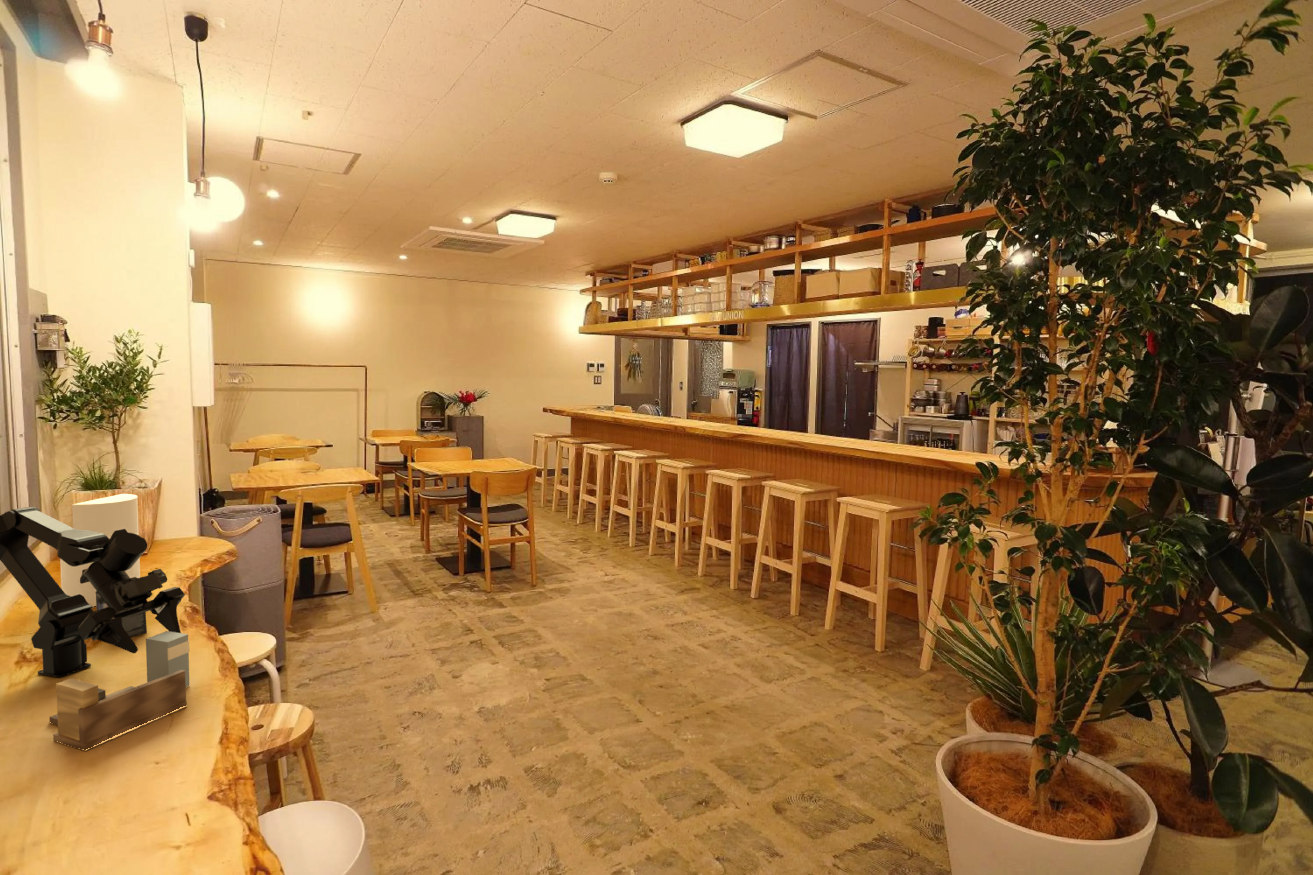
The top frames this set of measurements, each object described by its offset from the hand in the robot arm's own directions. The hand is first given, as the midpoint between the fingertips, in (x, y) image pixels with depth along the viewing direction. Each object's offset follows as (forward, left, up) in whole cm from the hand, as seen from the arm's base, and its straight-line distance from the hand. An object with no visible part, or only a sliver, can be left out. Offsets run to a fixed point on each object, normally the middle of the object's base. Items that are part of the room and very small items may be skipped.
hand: (158, 643), depth 141 cm
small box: (+20, +36, -9) cm, 42 cm away
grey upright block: (0, -2, -9) cm, 10 cm away
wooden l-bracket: (-13, -4, -9) cm, 16 cm away
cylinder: (+38, +66, -9) cm, 76 cm away
